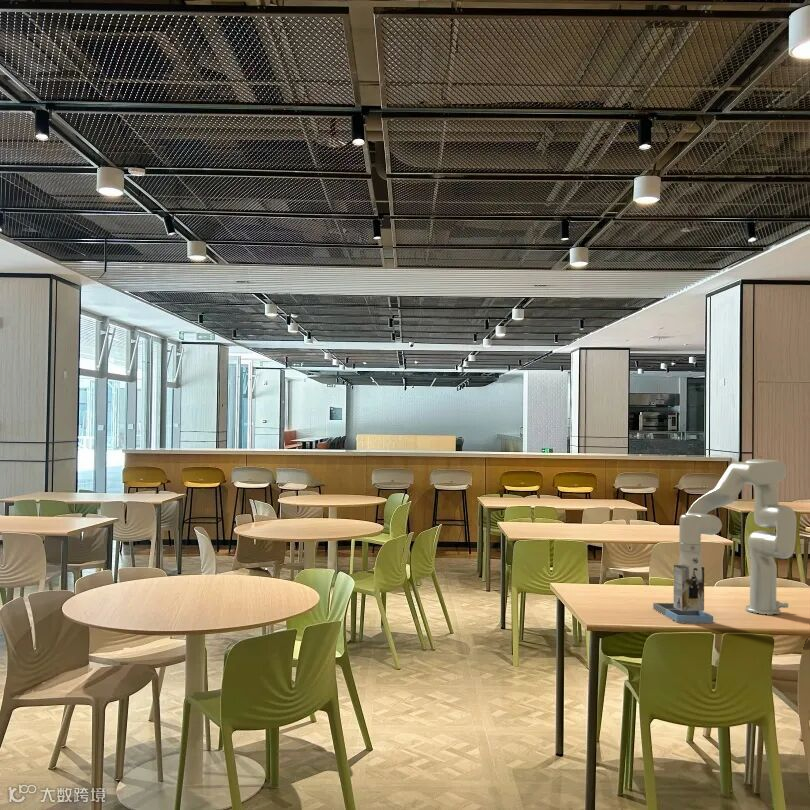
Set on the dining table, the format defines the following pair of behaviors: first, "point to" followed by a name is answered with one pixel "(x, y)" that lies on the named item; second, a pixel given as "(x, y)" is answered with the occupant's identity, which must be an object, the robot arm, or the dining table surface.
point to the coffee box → (687, 591)
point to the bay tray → (682, 614)
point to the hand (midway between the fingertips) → (688, 595)
